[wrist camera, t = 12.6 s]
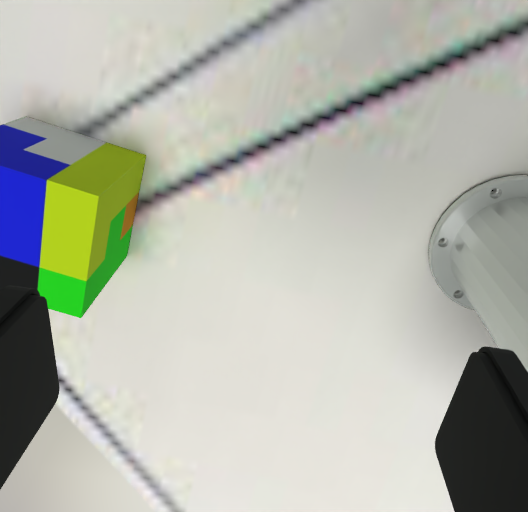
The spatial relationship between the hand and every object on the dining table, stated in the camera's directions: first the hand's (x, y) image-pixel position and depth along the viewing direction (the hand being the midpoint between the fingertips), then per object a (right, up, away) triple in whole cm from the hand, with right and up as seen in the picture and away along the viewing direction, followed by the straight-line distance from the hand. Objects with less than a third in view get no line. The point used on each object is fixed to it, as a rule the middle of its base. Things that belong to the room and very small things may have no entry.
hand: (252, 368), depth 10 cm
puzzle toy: (-16, +8, +29) cm, 34 cm away
